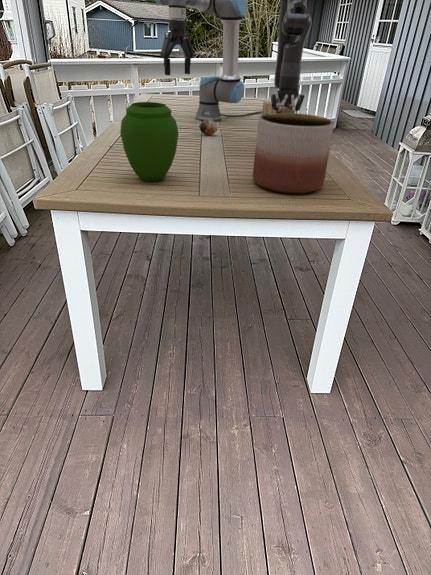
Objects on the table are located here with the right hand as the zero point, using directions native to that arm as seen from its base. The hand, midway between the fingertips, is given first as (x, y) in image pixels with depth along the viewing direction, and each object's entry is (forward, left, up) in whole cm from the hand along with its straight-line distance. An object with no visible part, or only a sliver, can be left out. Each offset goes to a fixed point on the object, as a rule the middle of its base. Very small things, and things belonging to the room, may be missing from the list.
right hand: (284, 121), depth 167 cm
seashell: (+13, -51, -16) cm, 55 cm away
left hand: (+29, -51, +12) cm, 60 cm away
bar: (-1, -9, -5) cm, 10 cm away
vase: (+59, +11, -16) cm, 62 cm away
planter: (+14, +30, -16) cm, 36 cm away
